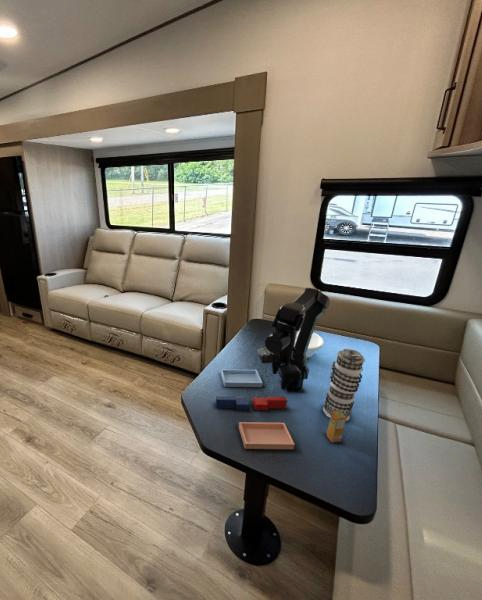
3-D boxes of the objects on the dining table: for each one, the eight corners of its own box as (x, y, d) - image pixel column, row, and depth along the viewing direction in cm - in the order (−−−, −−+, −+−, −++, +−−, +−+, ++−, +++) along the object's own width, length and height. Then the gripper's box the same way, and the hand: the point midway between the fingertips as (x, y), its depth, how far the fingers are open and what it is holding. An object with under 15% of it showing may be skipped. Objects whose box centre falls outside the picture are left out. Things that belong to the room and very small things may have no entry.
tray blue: (255, 373, 135) (256, 369, 135) (262, 387, 127) (262, 382, 126) (220, 373, 136) (220, 369, 135) (224, 386, 127) (224, 382, 126)
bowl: (323, 348, 155) (326, 333, 152) (317, 369, 139) (320, 353, 136) (279, 337, 166) (281, 323, 163) (268, 355, 149) (270, 340, 146)
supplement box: (325, 435, 103) (331, 410, 100) (335, 434, 104) (341, 410, 100) (331, 443, 100) (337, 418, 97) (341, 442, 101) (348, 417, 97)
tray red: (283, 427, 106) (284, 422, 106) (293, 449, 98) (294, 444, 97) (238, 426, 107) (239, 422, 106) (244, 448, 98) (245, 443, 97)
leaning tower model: (321, 401, 119) (335, 343, 110) (349, 408, 115) (366, 349, 106) (321, 417, 111) (336, 355, 102) (351, 425, 107) (369, 362, 98)
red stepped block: (283, 403, 118) (284, 395, 117) (286, 410, 114) (288, 402, 113) (252, 402, 118) (253, 395, 117) (255, 409, 114) (256, 401, 113)
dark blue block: (216, 409, 115) (217, 401, 113) (215, 402, 118) (215, 394, 117) (247, 409, 115) (249, 401, 113) (245, 402, 118) (246, 394, 117)
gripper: (254, 329, 116) (249, 366, 121) (270, 355, 98) (263, 397, 104) (285, 330, 115) (278, 367, 121) (305, 356, 98) (297, 398, 103)
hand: (278, 381), depth 112 cm, fingers open, 9 cm apart
